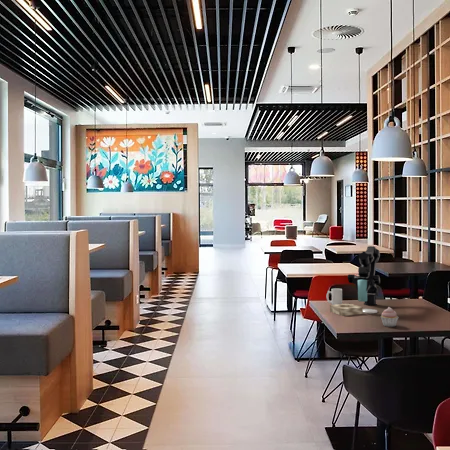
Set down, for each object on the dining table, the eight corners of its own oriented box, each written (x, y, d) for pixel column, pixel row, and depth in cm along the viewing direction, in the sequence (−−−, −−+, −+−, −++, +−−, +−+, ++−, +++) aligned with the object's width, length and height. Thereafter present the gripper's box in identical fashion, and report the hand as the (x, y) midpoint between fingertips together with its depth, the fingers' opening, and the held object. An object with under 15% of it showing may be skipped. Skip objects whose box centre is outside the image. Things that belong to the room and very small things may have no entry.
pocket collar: (349, 309, 304) (349, 303, 304) (362, 313, 290) (362, 307, 290) (329, 311, 299) (329, 305, 299) (342, 315, 286) (341, 309, 286)
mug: (342, 307, 313) (342, 288, 313) (342, 308, 307) (341, 289, 307) (326, 306, 316) (326, 288, 316) (326, 308, 310) (325, 289, 310)
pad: (370, 309, 303) (370, 308, 303) (380, 312, 293) (380, 311, 293) (357, 310, 300) (357, 309, 300) (366, 313, 290) (366, 312, 290)
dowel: (362, 299, 299) (361, 279, 299) (369, 300, 295) (368, 280, 294) (356, 300, 296) (355, 280, 296) (363, 301, 292) (362, 281, 291)
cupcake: (386, 322, 265) (385, 304, 265) (402, 325, 258) (401, 306, 258) (376, 325, 259) (376, 306, 259) (392, 328, 252) (392, 309, 252)
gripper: (347, 261, 302) (344, 281, 293) (379, 262, 294) (376, 282, 285) (350, 272, 310) (347, 292, 300) (381, 273, 301) (378, 294, 292)
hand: (362, 290), depth 294 cm, fingers closed on dowel, 5 cm apart
